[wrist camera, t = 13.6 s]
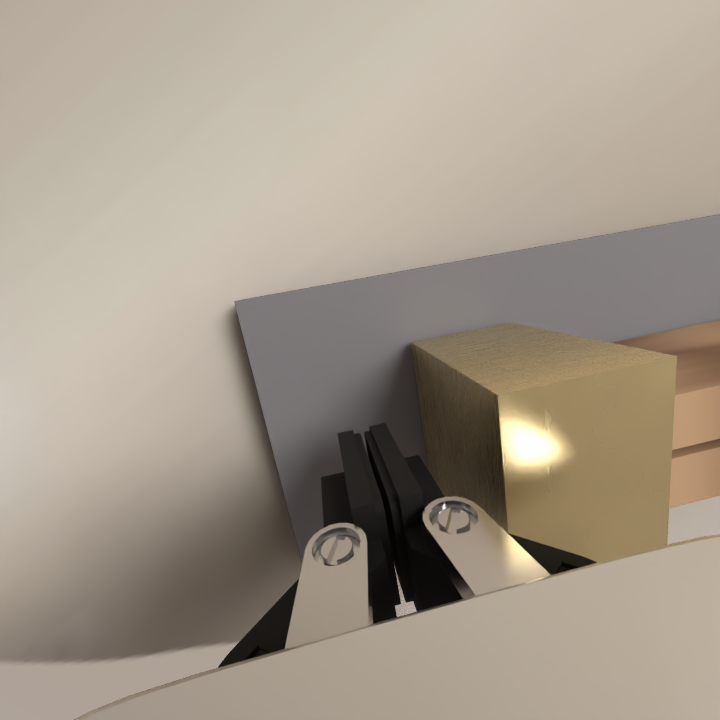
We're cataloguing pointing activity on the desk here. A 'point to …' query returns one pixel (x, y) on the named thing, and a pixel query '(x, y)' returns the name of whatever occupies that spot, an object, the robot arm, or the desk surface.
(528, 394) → the tan block
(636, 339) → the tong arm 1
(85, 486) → the desk surface
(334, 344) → the tong mat
